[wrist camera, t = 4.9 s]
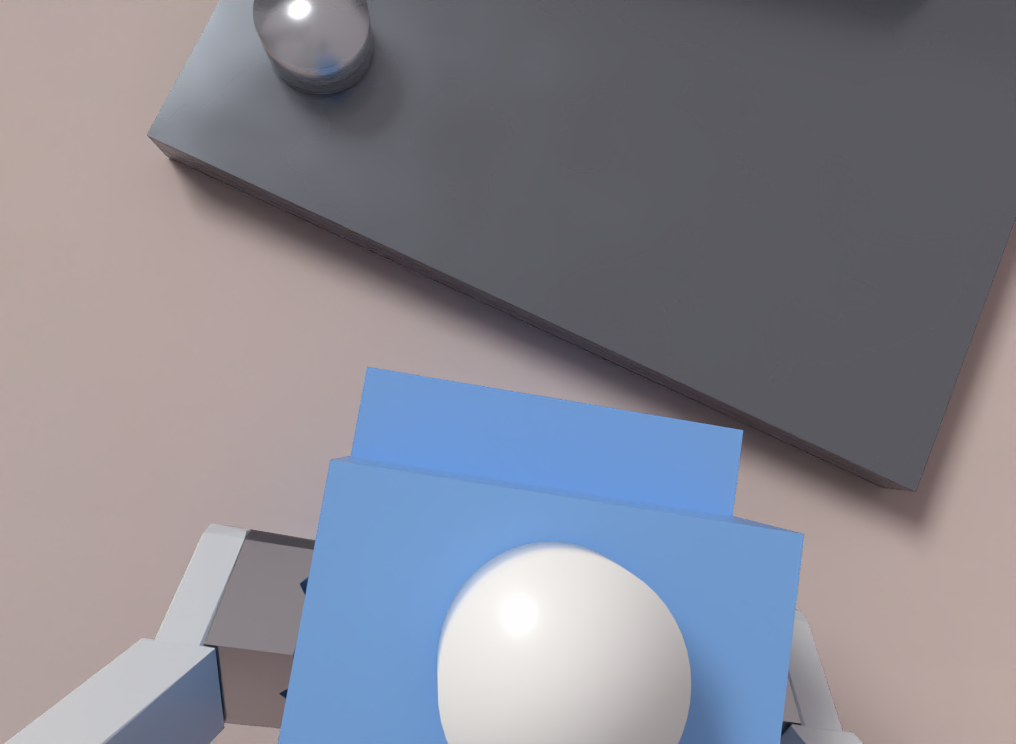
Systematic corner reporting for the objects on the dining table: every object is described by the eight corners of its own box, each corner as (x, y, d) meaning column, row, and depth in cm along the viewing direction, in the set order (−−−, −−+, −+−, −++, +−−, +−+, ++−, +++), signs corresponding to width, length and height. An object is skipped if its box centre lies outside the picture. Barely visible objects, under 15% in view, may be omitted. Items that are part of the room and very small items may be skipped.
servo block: (335, 735, 14) (171, 1235, 5) (394, 398, 15) (339, 336, 6) (564, 763, 14) (774, 1273, 6) (611, 434, 15) (865, 426, 6)
